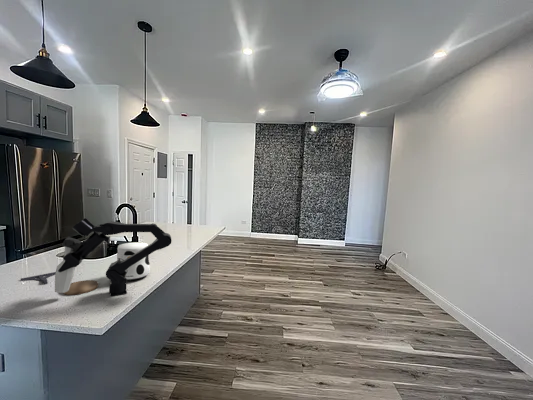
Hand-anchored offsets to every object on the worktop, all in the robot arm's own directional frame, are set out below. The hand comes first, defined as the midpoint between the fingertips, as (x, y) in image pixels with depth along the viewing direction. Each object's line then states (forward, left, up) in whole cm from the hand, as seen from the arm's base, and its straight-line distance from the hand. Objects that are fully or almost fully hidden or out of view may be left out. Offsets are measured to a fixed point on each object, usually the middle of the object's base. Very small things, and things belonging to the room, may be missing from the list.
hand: (61, 269), depth 108 cm
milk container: (-29, -15, -14) cm, 36 cm away
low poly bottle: (0, 0, -10) cm, 10 cm away
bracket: (+11, -30, -14) cm, 34 cm away
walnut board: (-6, -9, -13) cm, 17 cm away
